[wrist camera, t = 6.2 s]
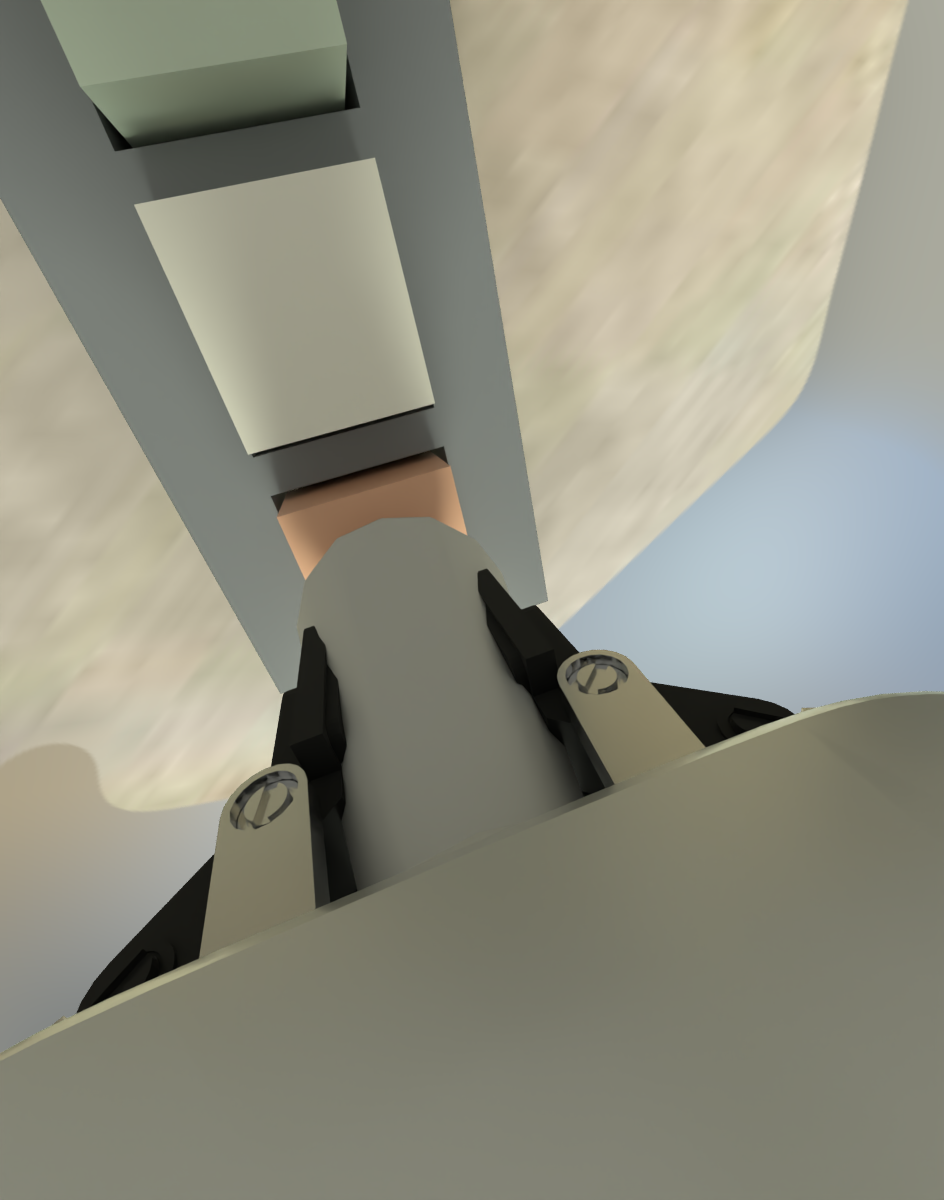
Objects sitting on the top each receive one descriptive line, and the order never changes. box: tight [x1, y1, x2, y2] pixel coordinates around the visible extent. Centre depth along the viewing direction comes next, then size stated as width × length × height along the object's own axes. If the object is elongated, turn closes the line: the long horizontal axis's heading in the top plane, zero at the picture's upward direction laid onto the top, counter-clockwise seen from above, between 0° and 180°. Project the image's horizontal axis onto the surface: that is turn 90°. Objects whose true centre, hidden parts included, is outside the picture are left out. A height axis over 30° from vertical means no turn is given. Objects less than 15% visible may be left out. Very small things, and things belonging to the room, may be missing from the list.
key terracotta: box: [277, 451, 468, 580], centre depth 17 cm, size 6×6×4 cm
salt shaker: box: [297, 517, 583, 891], centre depth 9 cm, size 6×6×13 cm
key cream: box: [134, 158, 435, 455], centre depth 13 cm, size 6×6×4 cm
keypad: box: [0, 0, 548, 694], centre depth 15 cm, size 24×12×4 cm, turn 12°
